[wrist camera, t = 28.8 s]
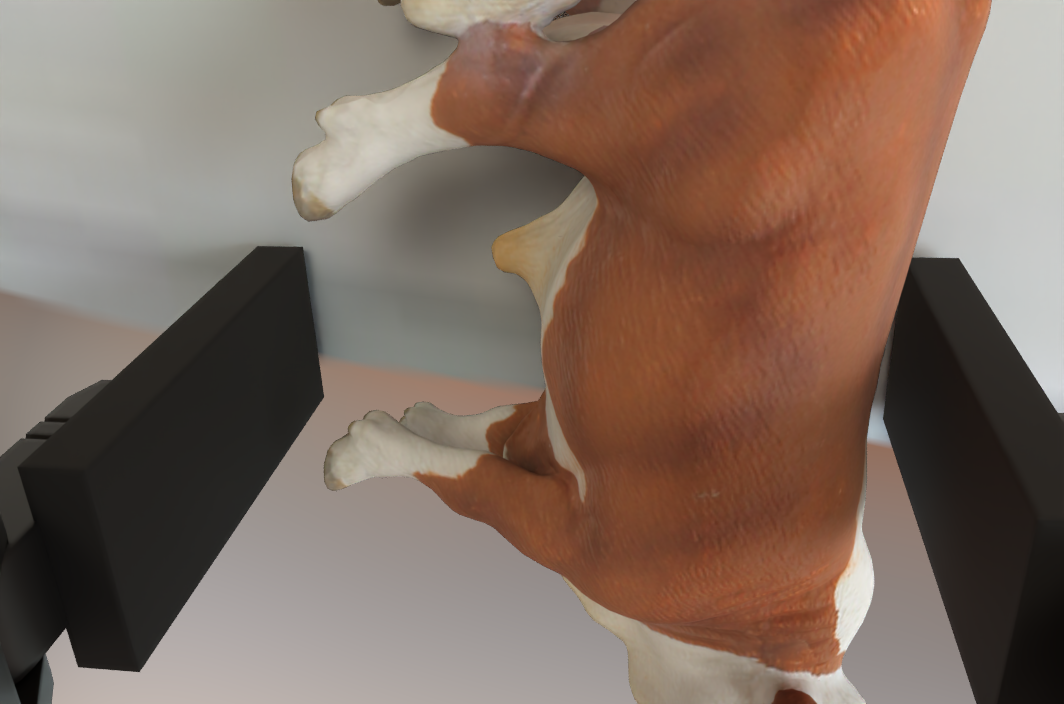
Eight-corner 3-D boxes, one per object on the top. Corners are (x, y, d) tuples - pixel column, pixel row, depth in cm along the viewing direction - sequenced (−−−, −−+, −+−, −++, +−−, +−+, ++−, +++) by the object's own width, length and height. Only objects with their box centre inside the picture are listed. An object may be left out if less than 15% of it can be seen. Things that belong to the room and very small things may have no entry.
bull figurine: (304, 776, 16) (839, 933, 14) (252, -203, 10) (1198, -132, 8) (408, 596, 20) (841, 703, 18) (419, -192, 13) (1085, -140, 12)
